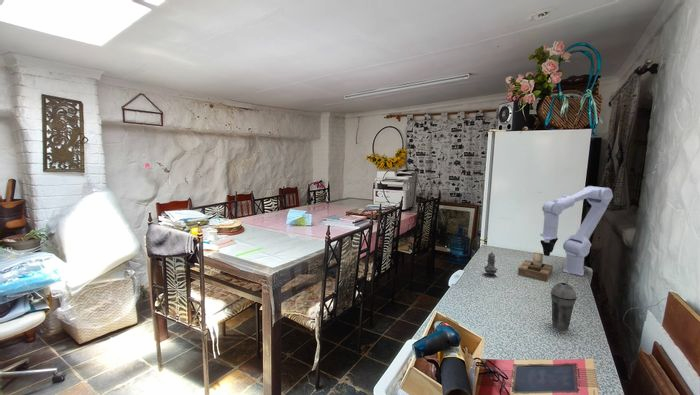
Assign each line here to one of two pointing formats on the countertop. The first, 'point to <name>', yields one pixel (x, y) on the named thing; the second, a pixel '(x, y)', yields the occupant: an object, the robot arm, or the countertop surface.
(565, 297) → the beverage cup
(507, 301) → the countertop surface
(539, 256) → the beech pin
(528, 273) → the block
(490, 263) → the grey chess piece
